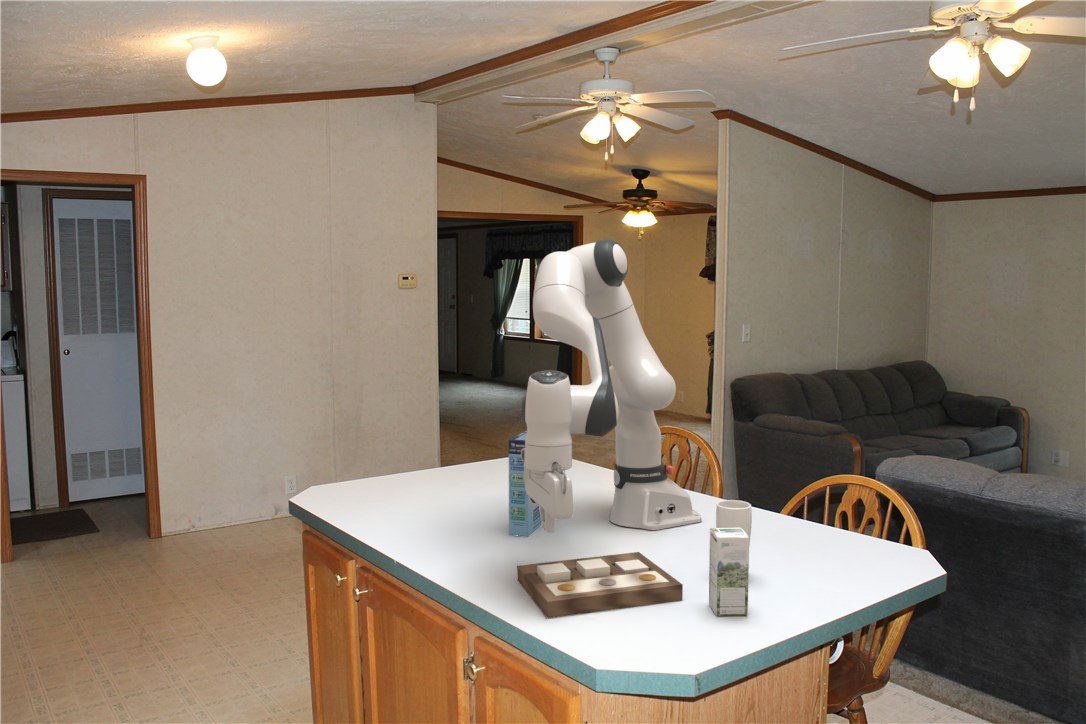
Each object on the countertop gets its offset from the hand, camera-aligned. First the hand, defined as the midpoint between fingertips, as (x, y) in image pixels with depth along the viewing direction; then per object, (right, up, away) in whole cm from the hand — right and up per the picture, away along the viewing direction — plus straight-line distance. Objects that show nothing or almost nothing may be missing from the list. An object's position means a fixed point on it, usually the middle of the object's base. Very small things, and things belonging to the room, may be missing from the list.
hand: (547, 530), depth 160 cm
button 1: (+1, -10, +1) cm, 10 cm away
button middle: (+9, -10, +3) cm, 14 cm away
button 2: (+16, -11, +6) cm, 21 cm away
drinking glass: (+37, -11, +7) cm, 39 cm away
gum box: (-4, -8, +45) cm, 46 cm away
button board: (+9, -12, +1) cm, 15 cm away
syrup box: (+32, -13, -9) cm, 36 cm away
